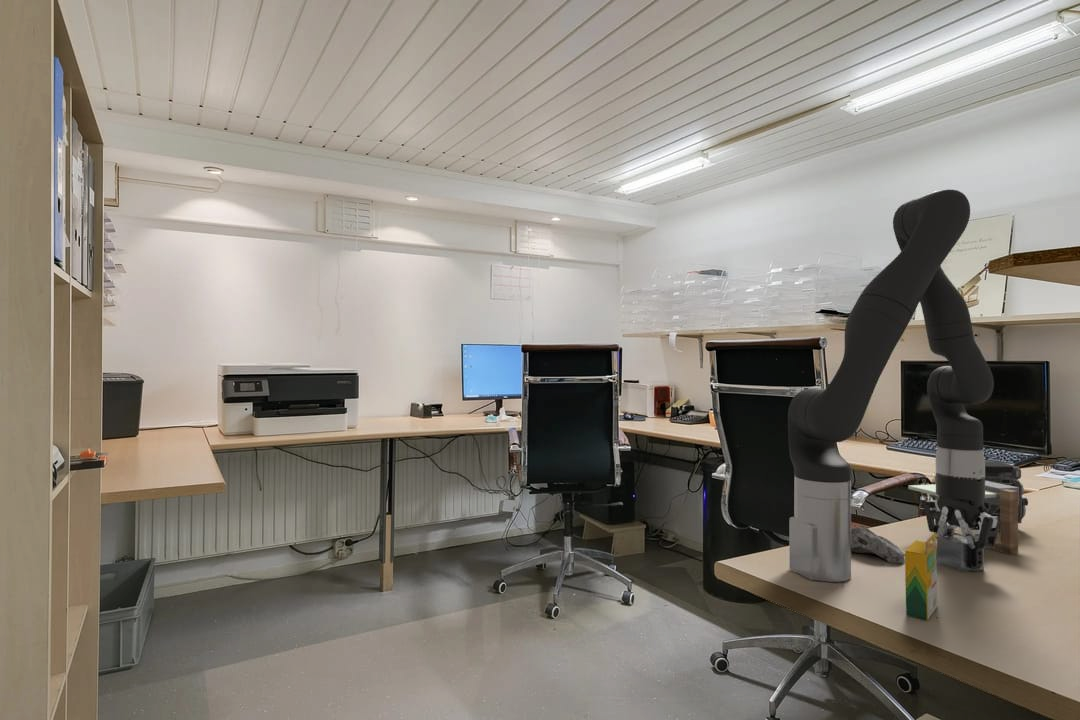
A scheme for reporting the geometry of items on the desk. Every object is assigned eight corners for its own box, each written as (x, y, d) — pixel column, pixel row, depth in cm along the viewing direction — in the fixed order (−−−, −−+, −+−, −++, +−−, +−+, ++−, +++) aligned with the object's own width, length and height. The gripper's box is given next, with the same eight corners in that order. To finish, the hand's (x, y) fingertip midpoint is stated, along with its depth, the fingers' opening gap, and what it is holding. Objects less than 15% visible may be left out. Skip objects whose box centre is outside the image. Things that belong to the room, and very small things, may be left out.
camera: (1032, 536, 128) (1032, 468, 128) (976, 531, 131) (975, 465, 132) (1011, 523, 138) (1011, 460, 138) (959, 519, 141) (959, 458, 141)
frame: (1010, 554, 115) (1009, 491, 115) (935, 530, 132) (934, 475, 132) (1018, 553, 116) (1017, 491, 116) (942, 530, 132) (942, 475, 132)
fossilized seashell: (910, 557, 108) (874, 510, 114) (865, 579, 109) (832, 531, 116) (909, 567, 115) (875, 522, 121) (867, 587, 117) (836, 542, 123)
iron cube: (961, 571, 105) (961, 544, 105) (937, 562, 110) (937, 536, 110) (983, 570, 106) (983, 542, 106) (958, 561, 111) (958, 534, 111)
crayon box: (915, 601, 92) (915, 528, 92) (937, 606, 90) (937, 531, 90) (904, 615, 87) (904, 537, 87) (927, 621, 85) (927, 542, 85)
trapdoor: (956, 510, 115) (956, 492, 115) (904, 496, 127) (904, 480, 128) (1026, 506, 119) (1026, 488, 119) (969, 493, 131) (969, 477, 131)
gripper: (910, 466, 115) (911, 552, 115) (980, 480, 101) (980, 578, 101) (942, 465, 116) (942, 549, 116) (1014, 478, 102) (1015, 575, 102)
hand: (960, 562), depth 108 cm, fingers closed on iron cube, 5 cm apart
